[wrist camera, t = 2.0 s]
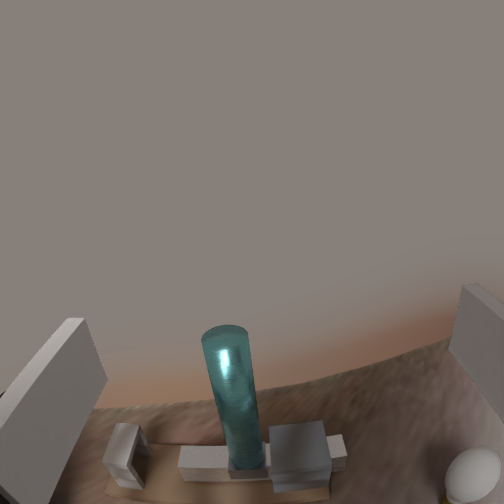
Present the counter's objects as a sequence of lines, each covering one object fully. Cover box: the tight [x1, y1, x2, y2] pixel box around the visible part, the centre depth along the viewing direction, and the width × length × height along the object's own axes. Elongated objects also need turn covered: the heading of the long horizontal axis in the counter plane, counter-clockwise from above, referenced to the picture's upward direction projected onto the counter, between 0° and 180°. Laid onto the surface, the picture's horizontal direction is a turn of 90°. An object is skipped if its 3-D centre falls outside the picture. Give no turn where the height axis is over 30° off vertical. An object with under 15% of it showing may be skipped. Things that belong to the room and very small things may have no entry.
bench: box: [102, 420, 332, 504], centre depth 30 cm, size 26×9×7 cm, turn 90°
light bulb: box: [442, 446, 501, 504], centre depth 19 cm, size 6×6×10 cm
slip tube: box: [178, 325, 347, 482], centre depth 27 cm, size 18×4×19 cm, turn 90°
